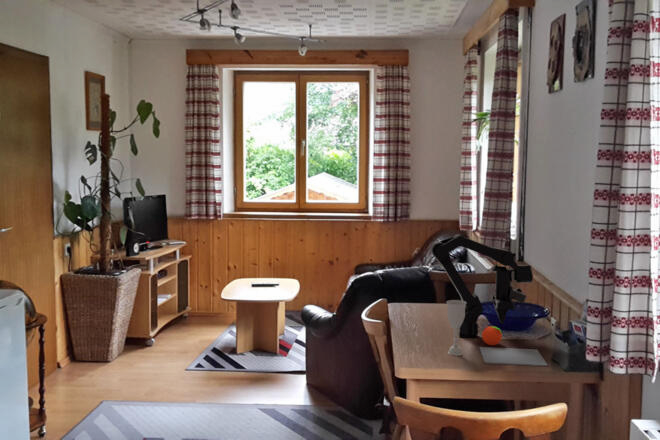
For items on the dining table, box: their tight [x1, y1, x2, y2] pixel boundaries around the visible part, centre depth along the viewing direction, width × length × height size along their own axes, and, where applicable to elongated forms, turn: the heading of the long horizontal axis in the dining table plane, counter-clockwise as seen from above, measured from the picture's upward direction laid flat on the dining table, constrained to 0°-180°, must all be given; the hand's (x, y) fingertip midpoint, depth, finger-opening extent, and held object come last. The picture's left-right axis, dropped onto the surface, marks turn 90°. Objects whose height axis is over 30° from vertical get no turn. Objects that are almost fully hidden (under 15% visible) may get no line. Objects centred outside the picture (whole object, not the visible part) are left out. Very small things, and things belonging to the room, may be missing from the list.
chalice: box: [446, 299, 467, 357], centre depth 222 cm, size 7×7×18 cm
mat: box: [479, 346, 549, 367], centre depth 220 cm, size 20×18×1 cm
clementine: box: [481, 325, 504, 346], centre depth 234 cm, size 8×7×7 cm
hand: (501, 323), depth 245 cm, fingers closed
